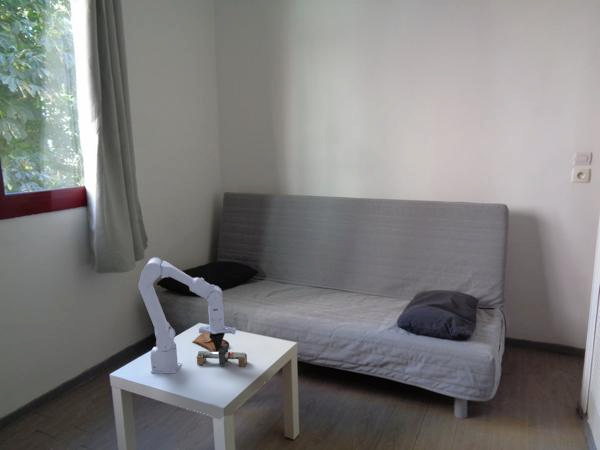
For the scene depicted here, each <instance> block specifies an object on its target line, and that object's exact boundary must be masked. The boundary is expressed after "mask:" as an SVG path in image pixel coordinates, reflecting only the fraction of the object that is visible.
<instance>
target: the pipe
mask: <svg viewBox="0 0 600 450" xmlns="http://www.w3.org/2000/svg"><path fill="white" fill-rule="evenodd" d="M224 354H225V359H228V360H238V362H237V363H238V367H239V368H240V367H241V368H245V367H246V365H247V363H248V354H247V353H246V352H239V351H238V352H235V351H228V352H225V353H224ZM207 359H218V360H219V351H218V352H211V351H209V350H207V351H206V350H205V351H203V350H199V351H198V352H197V355H196V362H197V363H196V364H197V366H204V364H205V363H206V362H207Z"/></svg>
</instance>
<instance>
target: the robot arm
mask: <svg viewBox="0 0 600 450" xmlns="http://www.w3.org/2000/svg"><path fill="white" fill-rule="evenodd" d="M140 273H141V274H140V275H139V276H140V277H139V281H138V284H137V287H138V289H139V292H140V294H141V297H142V300H143V302H144V305H145V308H146V310H147V312H148V314H149V318H150V320H151V322H152V324H153V327H154V335H155V338H156V339H155V340H156V341H155V345H156V346H153V348H152V349H151V351H150V364H151V367H150V368H151V371H150V373H154V374H155V373H156V374H172V375H173V374H175V373H176V371H177V370H179V368H180V367H181V366H182V364H183V363H182V362H178V349H177V344H176V342H175V337H176V331H175V329H174V328H173V327H172V326H171V324H170V323H169V322H168V321H167V319H166V318H167V317H166V316H165V313H164V311H163V307H162V305H161V303H160V300H159V298H158V295H157V293H156V289H155V287H154V283H155V281H156V280H157V279H158V278H159V277H160V276H161V279H164V278H172V279H174V280H175V281H178V282H179V283H182V284H184V285H186V286H188V287H189V291H190V292H192V293H194V294H196V295H197V296H200V297H202V298H203V299H205V300H207V301H206V302H207V303H208V307H207V308H208V309H207V311H208V319H209V320H208V323H209V325H208V326H200V327H199V328H198V334H202V333H210V336H209V337H210V339H211V340H212V342H213V343H214V346H215V349H216V351H218V350H219V349H220V347H221V344H222V340H223V339H224V337H225V334H230V335H235V334H236V333H237V329H236V327H231V326H226V325H225V316H224V305H223V299H224V296H223V290H222V288H220V286H218V285H215V284H210V283H209V282H207V281H206V280H205V278H203V277H197V276H196V277H192V276H191V275H188V274H186V273H185V272H184V271H182V270H181V269H179V268H177V267H176V266H174V265H172V264H171V263H169V262H168V261H166V260H163V259H161V258H160V257H152V258H150V259H149V260H148V261H147V262H146V264H145V265H144V268H142V270H141V272H140ZM218 352H219V351H218Z"/></svg>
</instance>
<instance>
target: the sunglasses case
mask: <svg viewBox="0 0 600 450" xmlns="http://www.w3.org/2000/svg"><path fill="white" fill-rule="evenodd" d="M199 334H200V335H198V336H197V337H196V338H195V339H194V340H192V341H191V343H193V344H196V345H197V346H199V347H202V348H204V349H205V350H207V351H211V352H219V351H216V349H215V346H214V343H213V342H212V340H211V339H210V337H209V336H210V333H199ZM223 344H228V349H229V348H230V343H229V341H227V340H226V339H224V338H223V340H222V344H221V346H222V345H223Z"/></svg>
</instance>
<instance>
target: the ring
mask: <svg viewBox="0 0 600 450" xmlns="http://www.w3.org/2000/svg"><path fill="white" fill-rule="evenodd" d="M218 352H219V359H218V365H219V366H221V367H225V366H226V363H227V362H228V360H229V359H225V354H224V353H225V352H229V348H228V344H223V345H222V346H221V347H220V349H219V350H218Z"/></svg>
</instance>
